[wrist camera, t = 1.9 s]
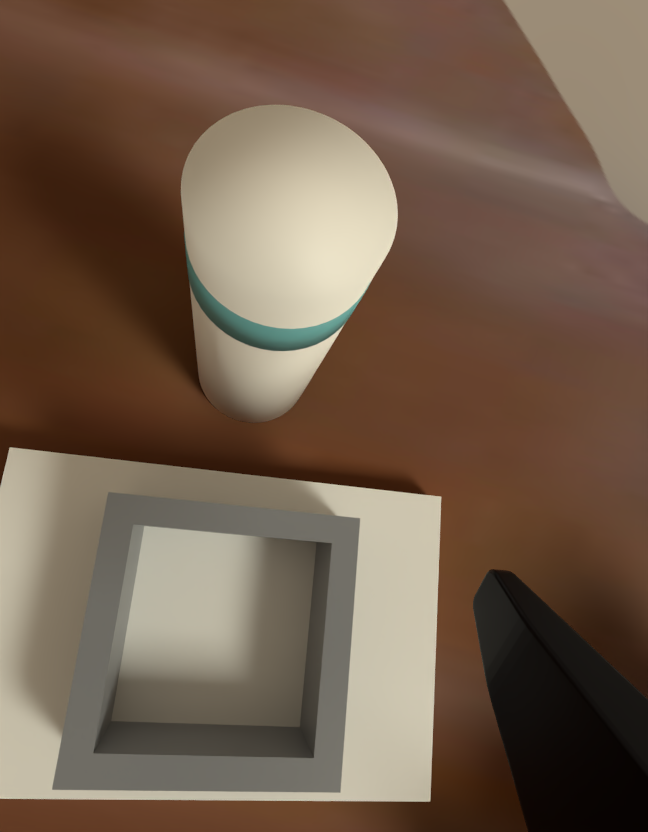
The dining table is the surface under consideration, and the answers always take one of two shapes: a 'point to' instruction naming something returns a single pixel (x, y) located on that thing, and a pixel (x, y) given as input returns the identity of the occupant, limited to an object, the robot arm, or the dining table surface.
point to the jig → (213, 635)
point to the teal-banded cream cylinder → (278, 250)
